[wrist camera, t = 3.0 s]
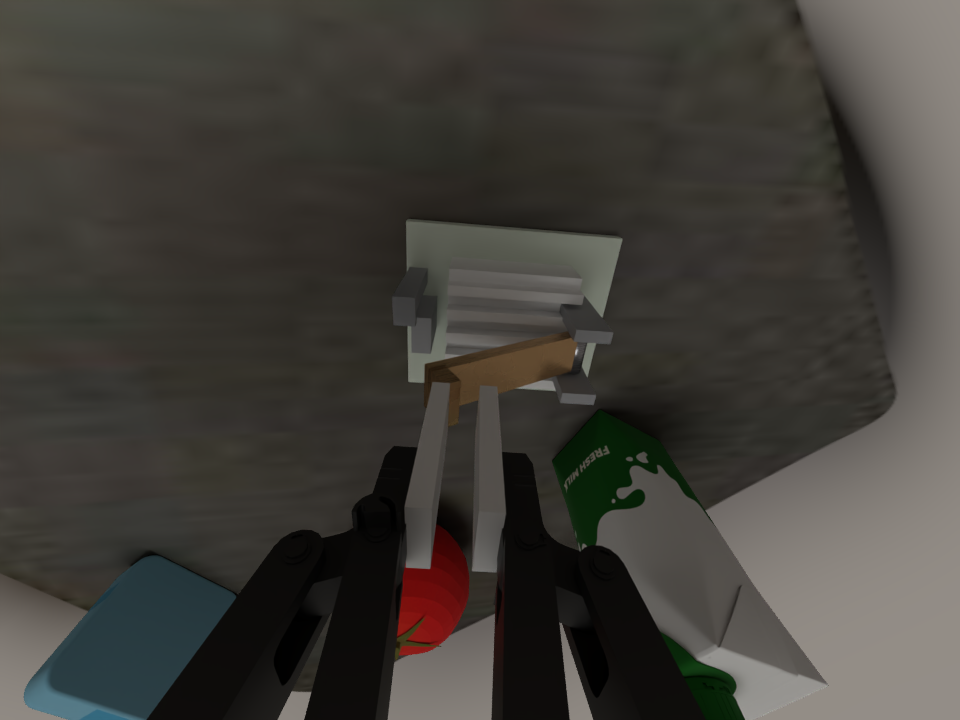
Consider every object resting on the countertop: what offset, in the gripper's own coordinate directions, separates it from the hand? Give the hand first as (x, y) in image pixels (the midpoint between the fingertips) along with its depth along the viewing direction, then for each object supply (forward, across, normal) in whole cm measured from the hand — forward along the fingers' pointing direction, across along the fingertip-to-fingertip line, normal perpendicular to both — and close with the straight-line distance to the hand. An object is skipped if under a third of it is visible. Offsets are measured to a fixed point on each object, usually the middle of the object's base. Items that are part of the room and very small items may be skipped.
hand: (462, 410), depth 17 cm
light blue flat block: (+12, -30, -36) cm, 49 cm away
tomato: (+13, -4, -26) cm, 29 cm away
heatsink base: (+12, +2, 0) cm, 13 cm away
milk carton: (+13, +13, -13) cm, 22 cm away
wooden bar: (+5, +2, 0) cm, 5 cm away
